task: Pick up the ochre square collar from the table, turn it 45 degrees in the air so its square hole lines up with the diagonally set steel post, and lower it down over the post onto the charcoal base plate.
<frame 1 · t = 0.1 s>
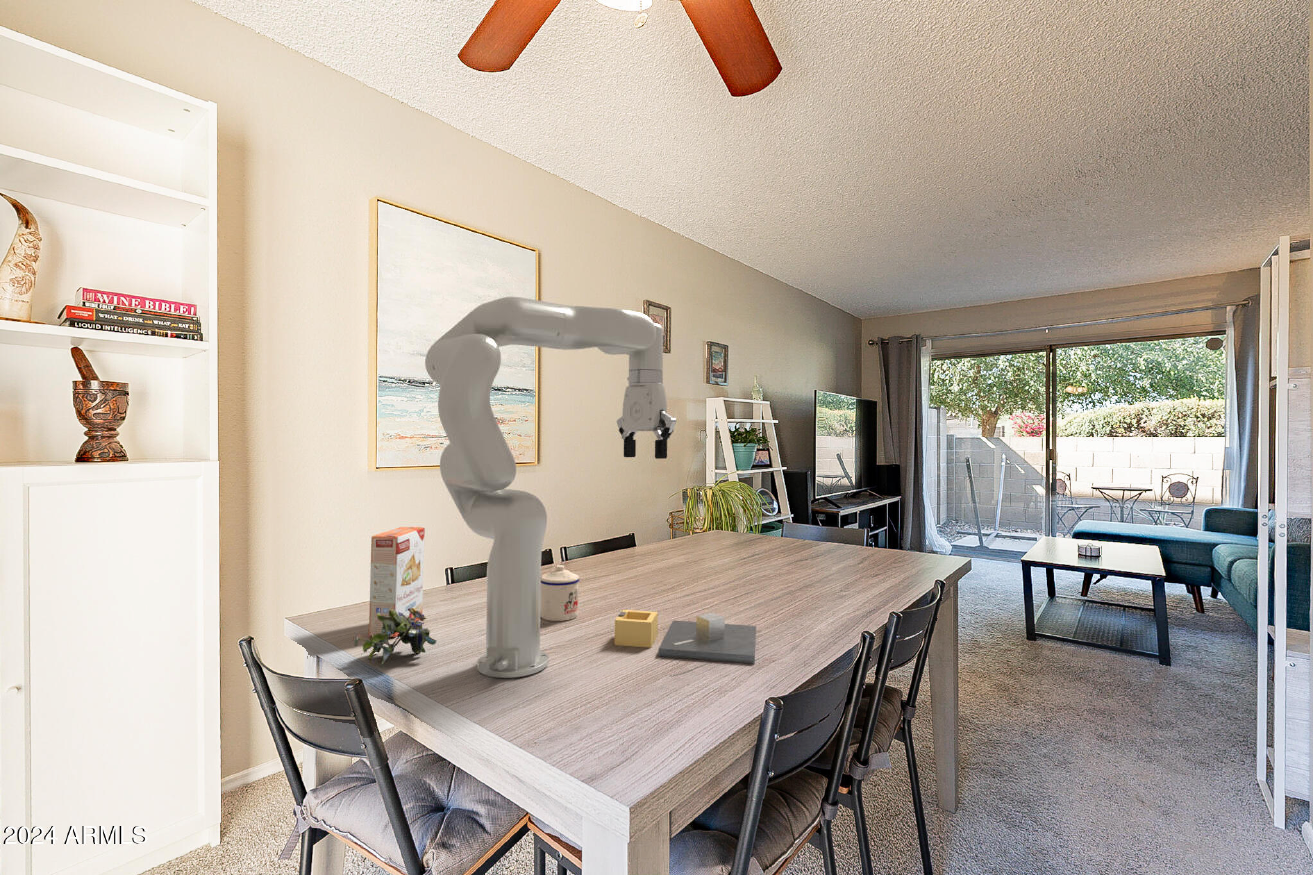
hand: (644, 457, 132), 37 cm above the table, tool pointing down, fingers open, 9 cm apart
post plate: (710, 643, 121), on the table
passion flower: (396, 661, 111), on the table
teacup with lid: (561, 615, 141), on the table
collar: (636, 640, 123), on the table
cracker box: (397, 628, 129), on the table
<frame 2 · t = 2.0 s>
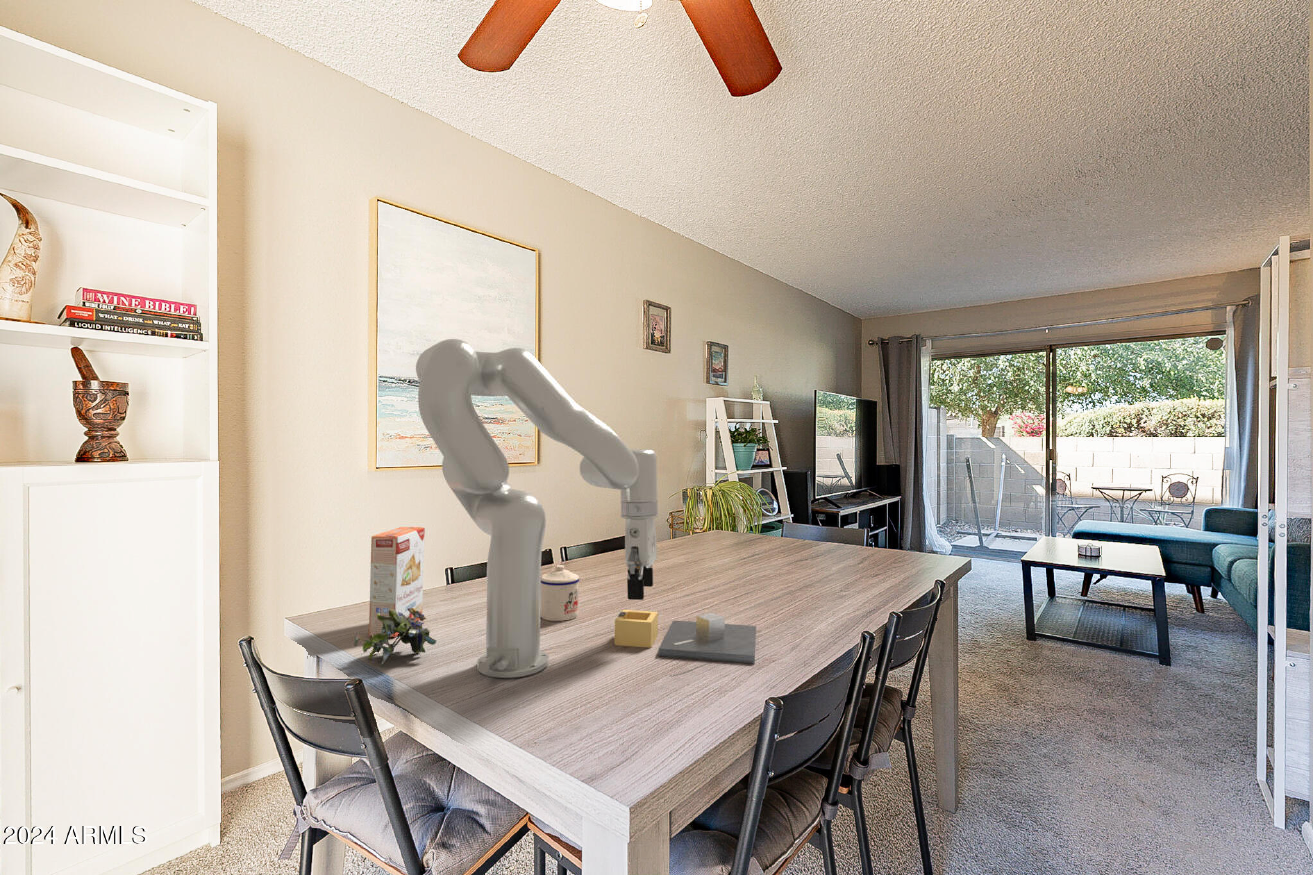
hand: (640, 592, 124), 10 cm above the table, tool pointing down, fingers open, 9 cm apart
nothing on the table moved.
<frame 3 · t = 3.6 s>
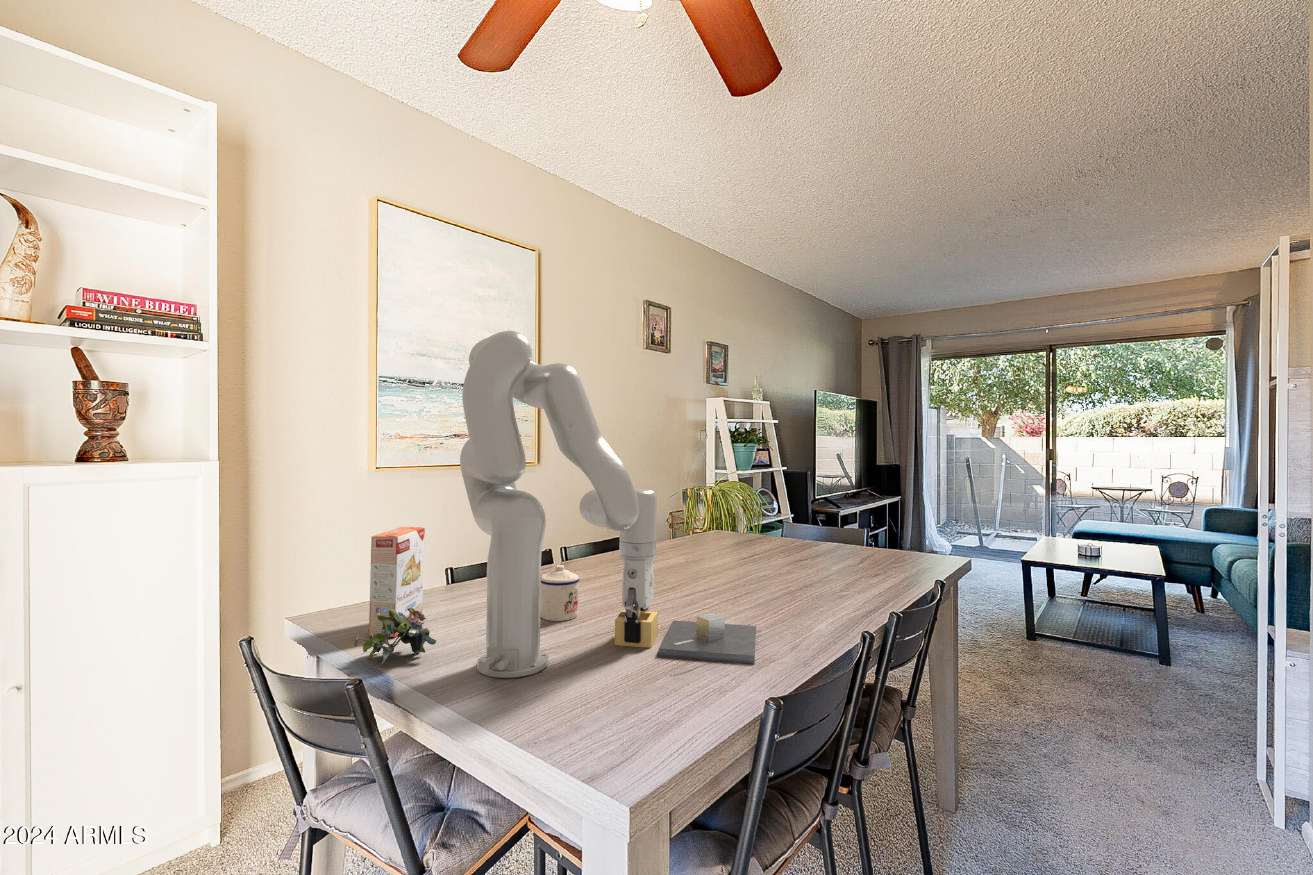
hand: (636, 635, 123), 1 cm above the table, tool pointing down, fingers closed on collar, 7 cm apart
collar: (636, 640, 123), on the table, touching gripper
everything else where it was.
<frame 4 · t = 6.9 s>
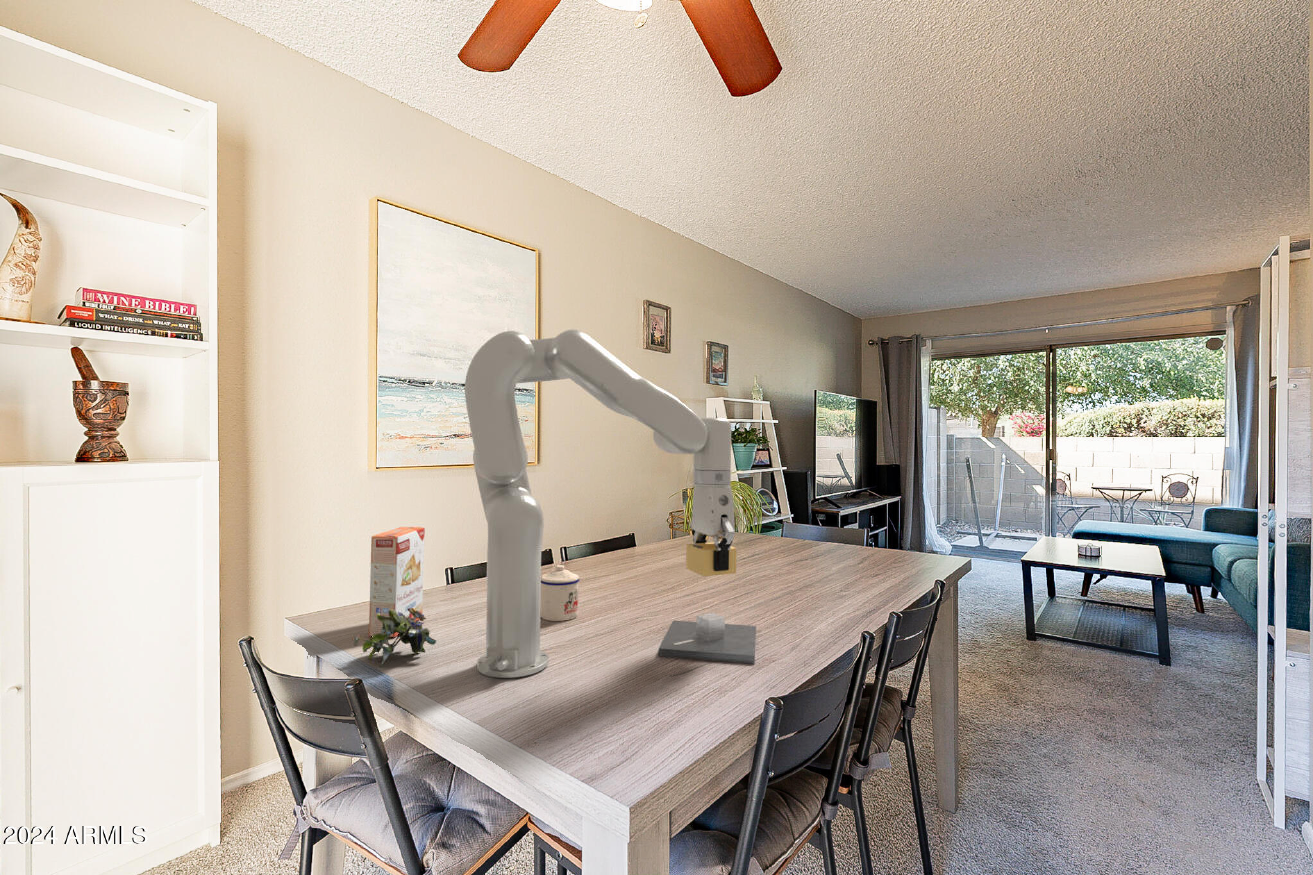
hand: (710, 565, 121), 16 cm above the table, tool pointing down, fingers closed on collar, 7 cm apart
collar: (710, 570, 121), point 15 cm above the table, touching gripper
everything else where it was.
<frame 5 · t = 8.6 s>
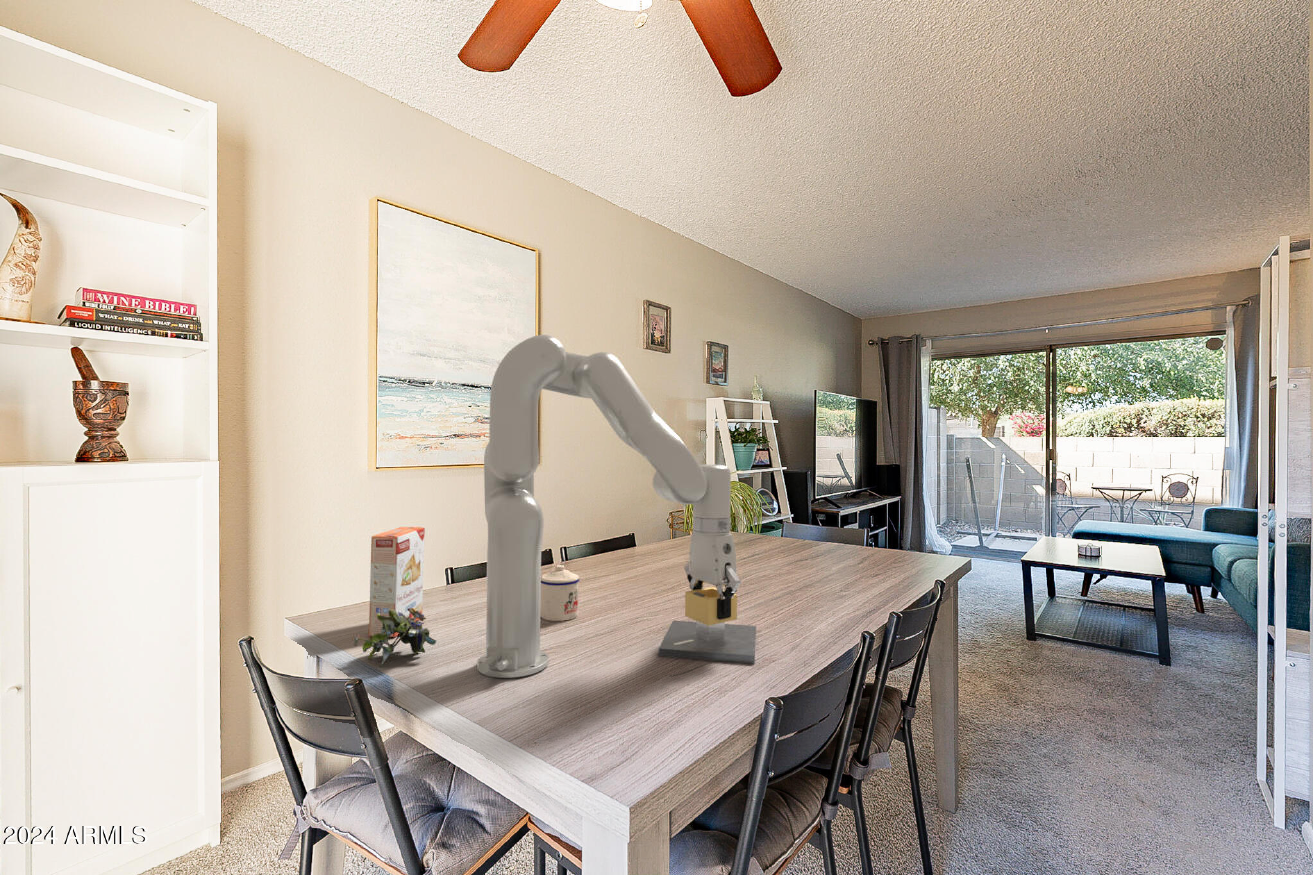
hand: (710, 612, 121), 6 cm above the table, tool pointing down, fingers closed on collar, 7 cm apart
collar: (710, 617, 121), point 5 cm above the table, touching gripper
everything else where it was.
when the fingers open (3 cm above the table, at t = 10.2 s): collar stays where it is, resting on post plate.
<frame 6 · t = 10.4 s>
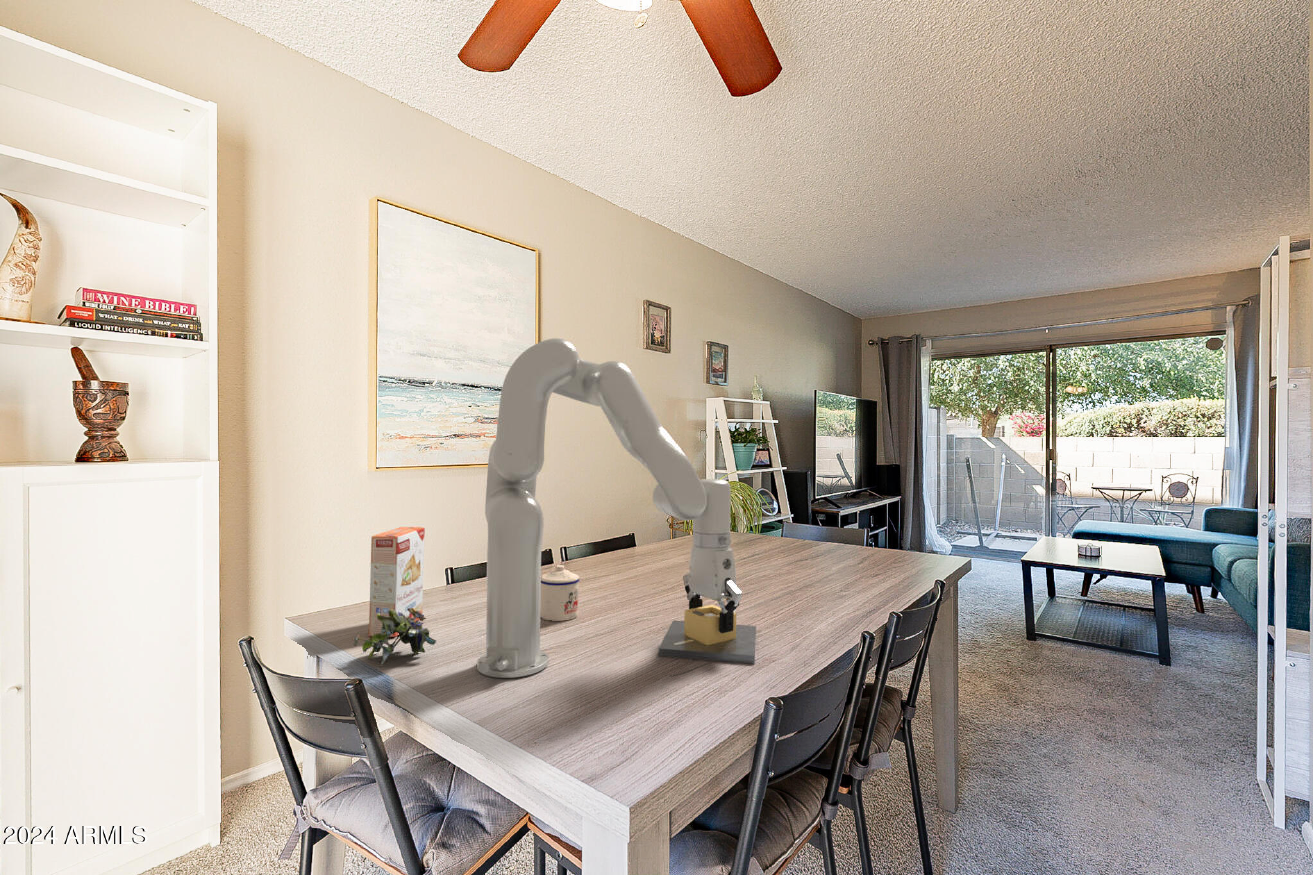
hand: (710, 625, 121), 4 cm above the table, tool pointing down, fingers open, 9 cm apart
collar: (710, 636, 121), point 1 cm above the table, touching post plate
everything else where it was.
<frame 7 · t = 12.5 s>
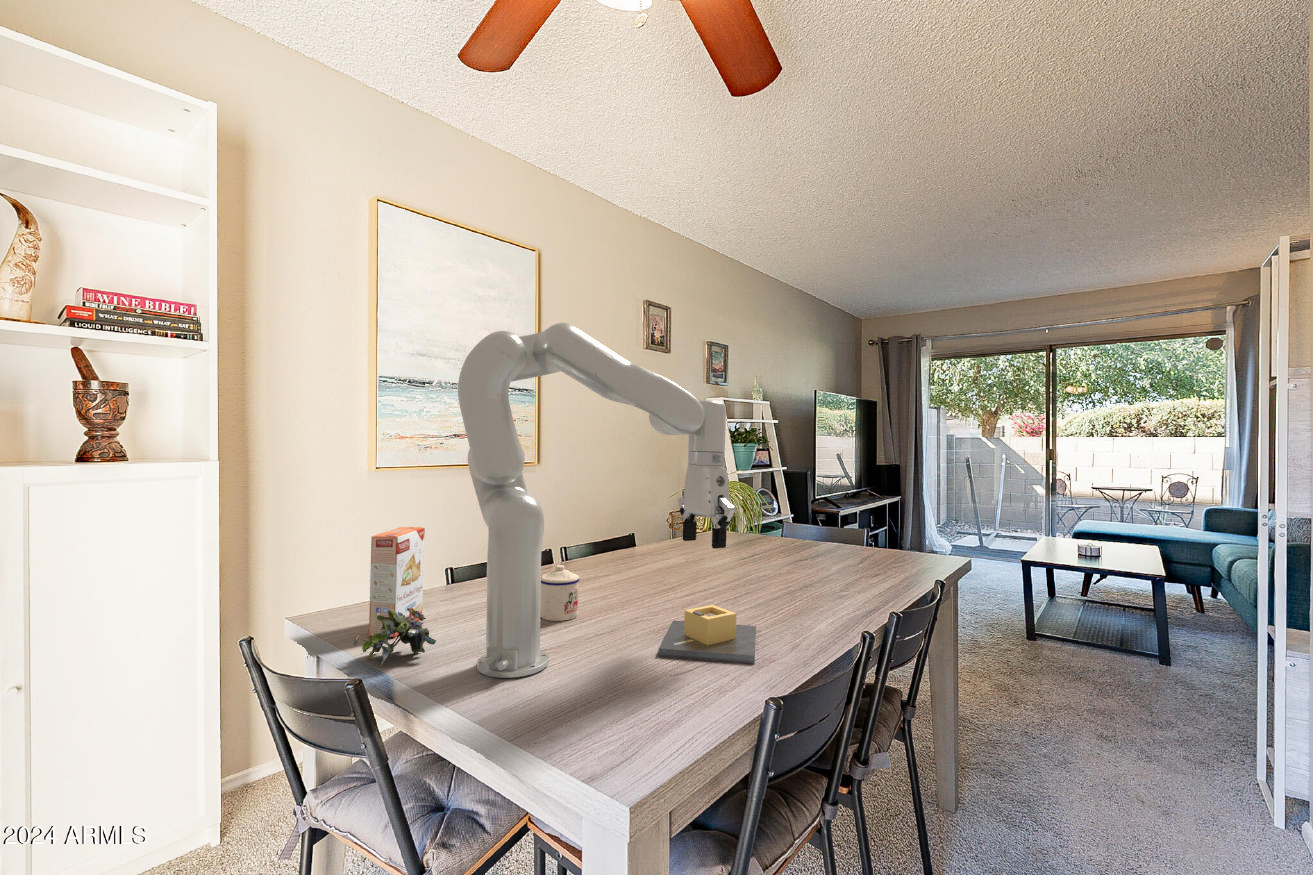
hand: (703, 544, 123), 20 cm above the table, tool pointing down, fingers open, 9 cm apart
nothing on the table moved.
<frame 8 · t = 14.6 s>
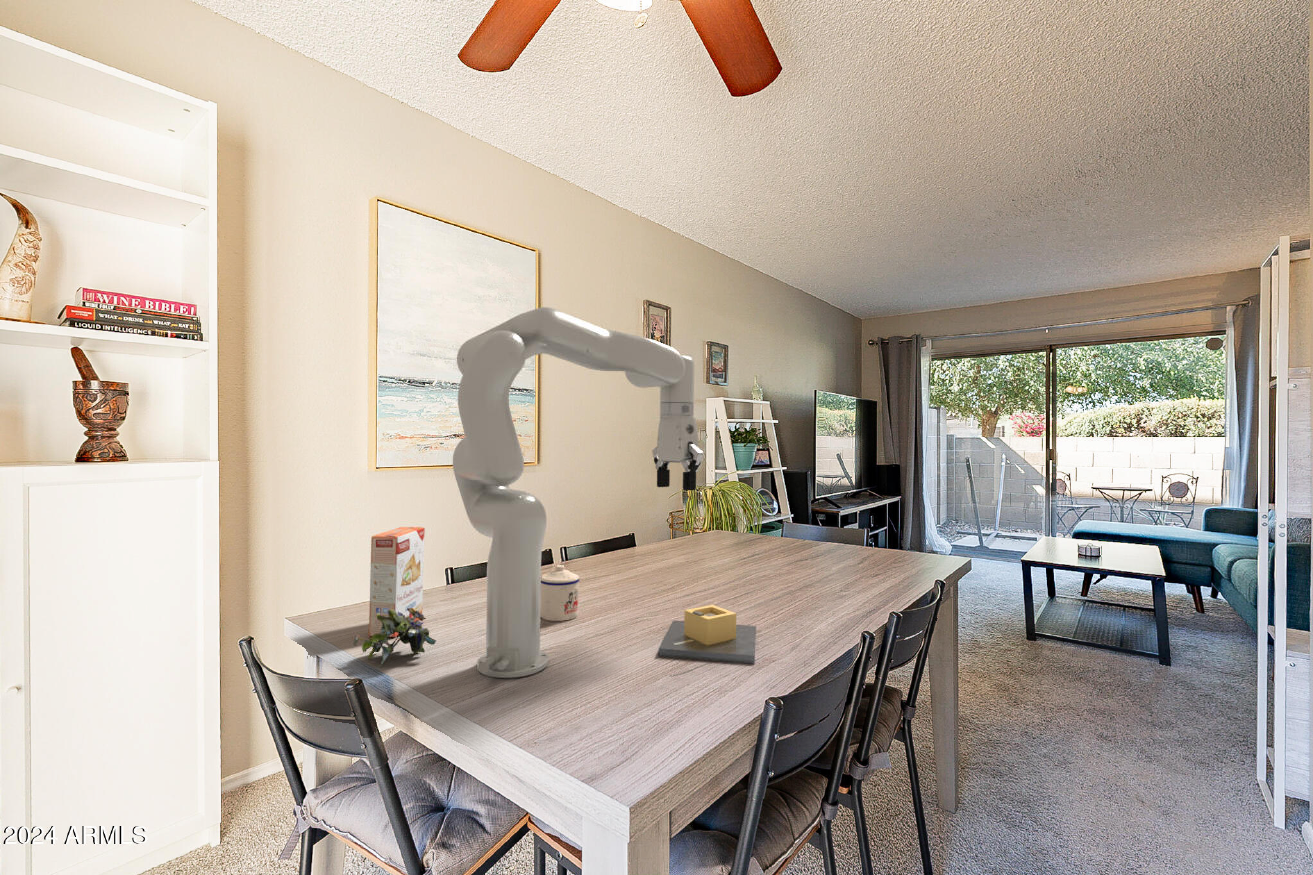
hand: (675, 488, 134), 30 cm above the table, tool pointing down, fingers open, 9 cm apart
nothing on the table moved.
at the end: collar 0.1 cm from the post plate (horizontally); collar point 1.5 cm above the table; the gripper is holding nothing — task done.
